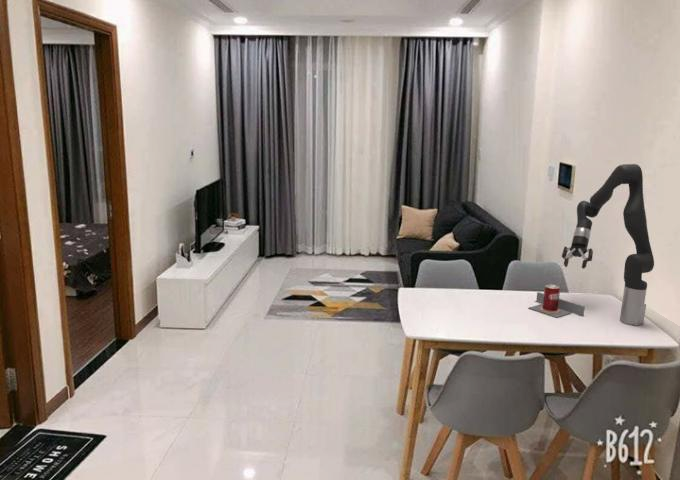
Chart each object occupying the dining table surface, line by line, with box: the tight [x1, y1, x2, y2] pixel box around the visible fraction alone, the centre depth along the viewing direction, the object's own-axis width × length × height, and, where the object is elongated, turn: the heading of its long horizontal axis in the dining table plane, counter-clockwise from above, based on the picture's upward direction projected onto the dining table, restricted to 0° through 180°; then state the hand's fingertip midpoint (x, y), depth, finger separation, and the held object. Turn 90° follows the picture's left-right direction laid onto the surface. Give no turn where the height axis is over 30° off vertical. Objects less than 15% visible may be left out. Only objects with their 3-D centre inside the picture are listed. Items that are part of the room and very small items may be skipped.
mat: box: [528, 303, 572, 319], centre depth 275 cm, size 16×12×1 cm
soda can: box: [542, 284, 561, 312], centre depth 274 cm, size 7×7×12 cm
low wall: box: [535, 291, 586, 317], centre depth 279 cm, size 26×1×5 cm, turn 35°
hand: (574, 267), depth 278 cm, fingers open, 8 cm apart
